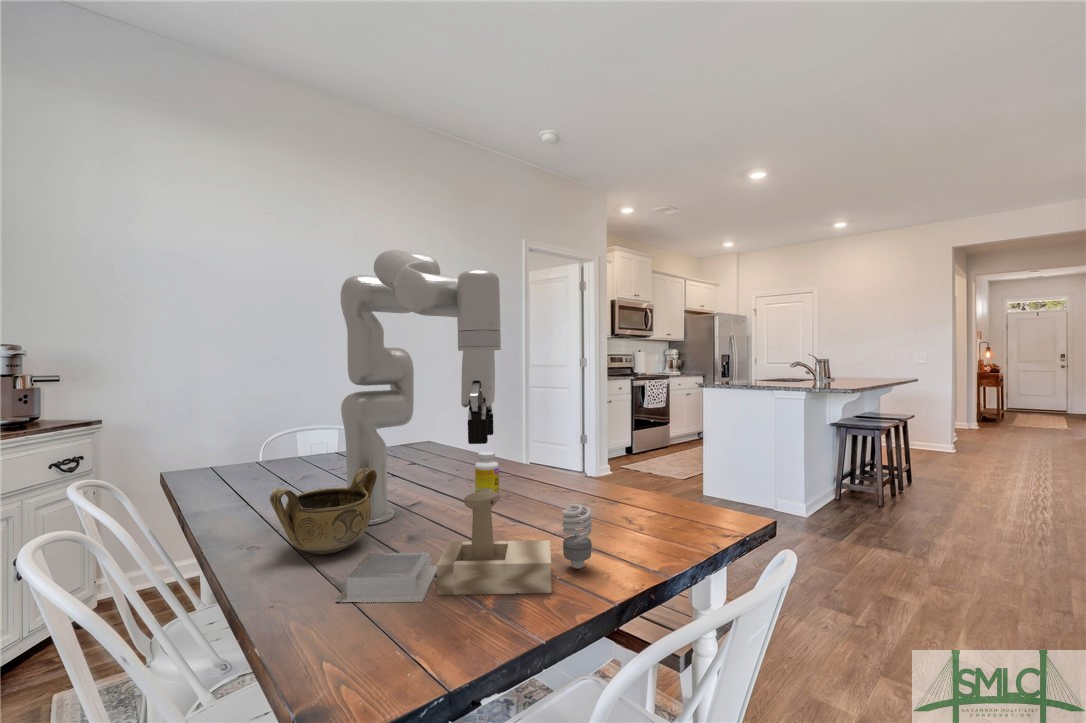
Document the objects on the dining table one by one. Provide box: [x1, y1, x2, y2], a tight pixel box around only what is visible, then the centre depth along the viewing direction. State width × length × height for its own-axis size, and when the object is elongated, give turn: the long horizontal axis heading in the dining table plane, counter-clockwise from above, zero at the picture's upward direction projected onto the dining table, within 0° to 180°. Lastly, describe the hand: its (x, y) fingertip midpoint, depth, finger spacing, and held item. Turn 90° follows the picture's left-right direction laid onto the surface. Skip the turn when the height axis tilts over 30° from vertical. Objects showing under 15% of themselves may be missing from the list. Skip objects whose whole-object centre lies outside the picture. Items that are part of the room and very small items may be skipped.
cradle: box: [335, 551, 437, 604], centre depth 87 cm, size 14×13×4 cm
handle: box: [464, 491, 500, 561], centre depth 88 cm, size 5×6×15 cm
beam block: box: [436, 539, 552, 596], centre depth 88 cm, size 19×10×5 cm, turn 90°
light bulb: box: [561, 503, 593, 570], centre depth 92 cm, size 6×6×12 cm
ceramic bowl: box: [269, 468, 377, 556], centre depth 104 cm, size 22×17×15 cm
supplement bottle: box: [474, 451, 500, 494], centre depth 140 cm, size 7×7×13 cm
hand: (481, 439), depth 88 cm, fingers open, 9 cm apart
